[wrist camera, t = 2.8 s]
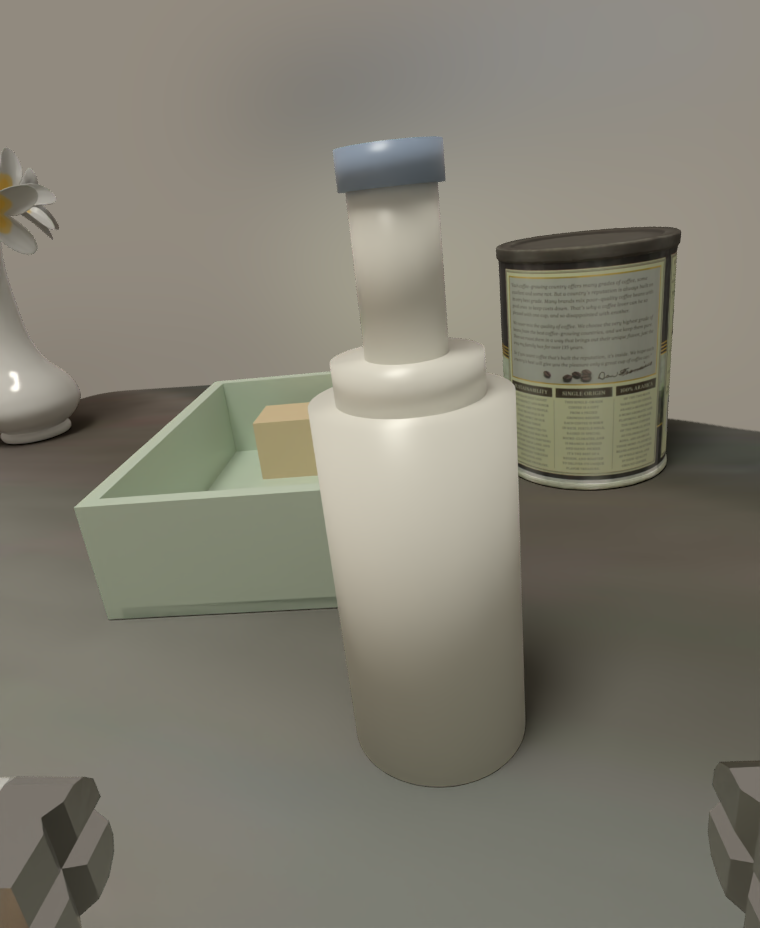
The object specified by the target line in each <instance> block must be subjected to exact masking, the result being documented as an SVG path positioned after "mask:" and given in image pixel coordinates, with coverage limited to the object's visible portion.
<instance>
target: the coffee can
mask: <svg viewBox="0 0 760 928" xmlns="http://www.w3.org/2000/svg"><path fill="white" fill-rule="evenodd" d="M680 238H681V231H680V230H679V229H677V228H671V227H631V228H614V229H601V230H590V231H579V232H570V233H561V234H552V235H545V236H537V237H532V238H526V239H520V240H515V241H511V242H507V243H504V244H501V245H499V246H498V247H497V248H496V256H497V259H498V261H499V277H500V301H501V328H502V347H503V372H504V378H506V379H508V380H510V381H511V382H512V383H513V384H514V386H515V389H516V419H517V453H518V476H520V477H522V478H523V479H526V480H528V481H531V482H534V483H537V484H541V485H546V486H550V487H556V488H562V489H578V490H597V489H609V488H617V487H623V486H628V485H632V484H635V483H638V482H642V481H645V480H647V479H650V478H652V477H654V476H655V475H656V474H658V473H659V472H661V471H662V470H663V468H664V467H665V466H666V462H667V457H666V436H667V418H668V402H669V383H670V364H671V347H672V333H673V314H674V296H675V277H676V276H675V275H676V259H677V248H678V245H679V243H680Z"/></svg>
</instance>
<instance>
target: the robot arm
mask: <svg viewBox="0 0 760 928" xmlns="http://www.w3.org/2000/svg"><path fill="white" fill-rule="evenodd" d="M712 785H713V787H714V790H715V792H716V794H717V796H718V798H719V800H720V802H719V803H718V804H717V805H716V806H715V807H714V808H713V809H711V810H710V811H709V821H708V837H709V844H710V851H711V857H712V860H713V864H714V867H715V870H716V874H717V877H718V879H719V881H720V884H721V886H722V889H723V891H724V893H725V896H726V897H727V898H728V899H729V900H730V901H731V902H733V903H734V904H735V905H736V906H737V907H738V908H740V909H741V910H742V911H743V912H744V913H745V921H744V928H760V761H730V762H719V763H718V765H717V766H716V768H715V769H714V776H713V783H712ZM100 797H101V796H100V794H99V791H98V789H97V786H96V784H95V782H94V779H93V778H87V777H29V776H17V777H0V928H82V926H81V920H80V915H82V914H83V913H84V912H85V911H86V910H87V909H88V908H89V907H91V906H92V905H93V904H94V903H95V902H96V901H97V900H98V899H99V898H100V896H101V894H102V891H103V889H104V887H105V885H106V882H107V880H108V878H109V875H110V870H111V865H112V860H113V855H114V839H113V832H112V829H111V826H110V823H109V820H107V819H106V818H105V817H104V816H102V815H101V814H100V813H99V812H97V811H96V810H95V809H94V808H95V806H96V804H97V802H98V800H99V799H100Z"/></svg>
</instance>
